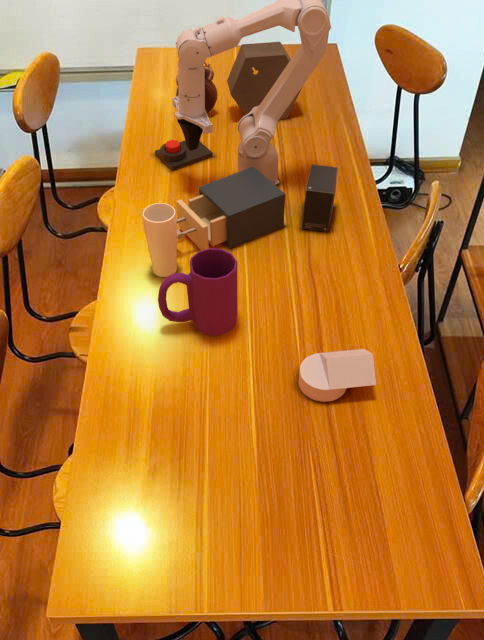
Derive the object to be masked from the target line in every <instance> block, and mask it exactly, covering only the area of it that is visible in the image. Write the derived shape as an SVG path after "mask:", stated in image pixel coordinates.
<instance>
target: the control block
mask: <svg viewBox="0 0 484 640" xmlns="http://www.w3.org/2000/svg"><path fill="white" fill-rule="evenodd" d="M178 142H179V143H180V151H179V152H177V153H168V152H166V145H165V144H166V142H165V143H163V144H162V145H161V146H160V147H159V148H158V149H156V150H154V155H155V156H156V157H157V158H158V159H159V160H160V161H161V162H162V163H163V164H164V165H166V167H167V168H168V169H170V171H171V172H173V171H177V170H179V169H182V168H185V167H187V166H190V165H193V164H197V163H199V162H202V161H204V160H208V159H210V158H213V152H212V150H211V149H210V148H208V147H207V146H206V145H204V144H203V143H202V142H201V140H200V141H199V145H198V148H197V149H195V150H192V151H190V150H189V149H188V148H187V145H186V141H185V140H182V141H178Z"/></svg>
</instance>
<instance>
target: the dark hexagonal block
mask: <svg viewBox="0 0 484 640" xmlns="http://www.w3.org/2000/svg"><path fill="white" fill-rule="evenodd" d="M291 59H292V58H291V57H290V55H289V54H288V52H287V51H286V49H285V47H284V46H283V44H282V42H281V41H269V42H255V43H254V42H253V43H243V44H241V45H240V47H239V50H238V52H237V54H236V58H235V60H234V62H233V64H232V66H231V70H230V72H229V74H228V77H227V79H226V82H227V87H228V91H229V94H230V96H231V98H232V99H233V100H234V102H235V103H236V105H237V107H238V108H239V109H240V110H241V112H242V113H243V115H244V116H245V115H247V114H248V113H250V112H251V110H252V109H253V108H254V107H256V106H259V105H260V104H261V103H262V101H263V100H264V98H265V97H266V95H267V94H268V92H269V91H270V90H271V88H272V87H273V85H274V84H275V82H276V81H277V79H278V78H279V76H280V75H281V73H282V72H283V70H284V69H285V68H286V66H287V65H288V63H289V62H290V60H291ZM254 70H255V71H257V73H255V71H254ZM303 87H304V85H303V86H302V88H303ZM302 88H301V89H300V90H299V92H298V93H297V95H296V96H295V97H294V99H293V100H292V102H291V103H290V104H289V106H288V107H287V109H286V110H285V111H284V113H283V114H282V116H281V117H280V118H279V120H278V121H280V120H281V121H282V120H287V119H288V118H289V116H290V114H291V111H292V109H293V108H294V105H295V103H296V101H297V99H298V97H299V95H300V93H301V91H302Z"/></svg>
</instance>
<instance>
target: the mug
mask: <svg viewBox="0 0 484 640" xmlns="http://www.w3.org/2000/svg"><path fill="white" fill-rule="evenodd" d="M164 278H165V279H163V280H162V281H161V283H160V286H159V288H158V295H157V303H158V308H159V311H160V314H161V316H162V317H164V318H165V319H166V320H168V321H169V322H174V323H188V322H192V323H194V327H195V329H196V331H198V332H201V333H202V334H204V335H206V336H217V337H218V336H221V335H225V334H227V333H230V332H231V331H232V330H233V329H235V327H236V326H237V322H238V316H239V315H238V311H239V309H238V306H239V305H238V303H239V302H238V294H239V293H238V260H237V259H236V257H235V256H234V254H233V253H232V252H231V251H227V250H226V249H223V248H212V247H209V249H205V250H198V251H197V252H196V253H195V254H194V255H192V256H191V257H190V259H189V273H184V272H175V274H171V275H169V276H168V277H164ZM177 283H179V284H182V285H185V286H186V295H187V302H188V303H187V304H188V308H186V309H182V310H180V311H174V310H171V309H169V307H168V303H167V302H168V301H167V295H168V294H167V293H168V290H169V288H170V287H171V286H173V285H174V284H177Z"/></svg>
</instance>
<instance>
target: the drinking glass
mask: <svg viewBox="0 0 484 640" xmlns="http://www.w3.org/2000/svg"><path fill="white" fill-rule="evenodd" d="M177 219H178V218H177V210H176V209H175V208H174V206H173V205H171V204H170V203H169V204H168V203H165V202H155V203H151V204H149V205H148V206H146V207H145V208H143V210H142V223H143V231H144V236H145V240H146V244H147V248H148V253H149V257H150V261H151V262H150V263H151V269H152V272H153V273H154V274H155V276H157V277H159V278H166V277H168V276H169V275H171V274H175V273H177V272H178V271H177V270H178V239H177V228H178V223H177Z"/></svg>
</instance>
